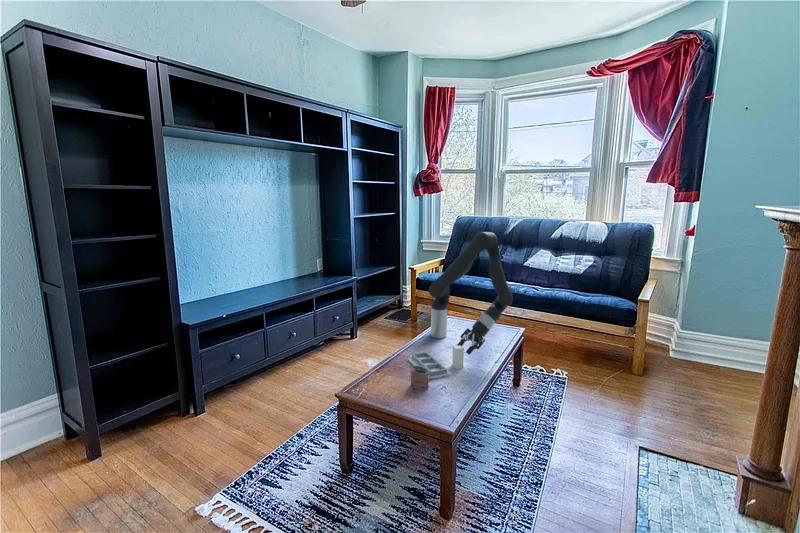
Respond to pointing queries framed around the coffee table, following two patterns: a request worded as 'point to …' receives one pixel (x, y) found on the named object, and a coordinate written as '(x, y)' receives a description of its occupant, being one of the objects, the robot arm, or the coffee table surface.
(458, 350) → the clay bar
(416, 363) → the rack
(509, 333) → the coffee table surface
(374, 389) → the coffee table surface
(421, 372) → the lighter
